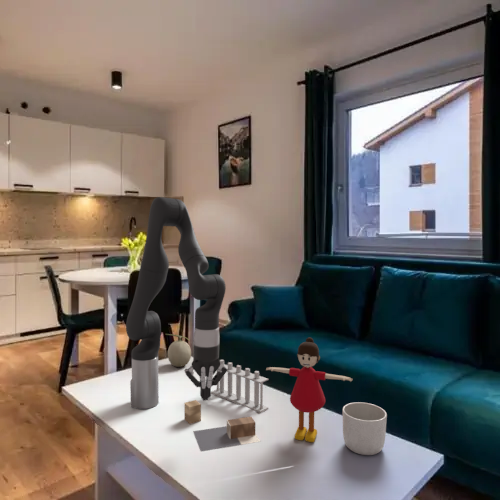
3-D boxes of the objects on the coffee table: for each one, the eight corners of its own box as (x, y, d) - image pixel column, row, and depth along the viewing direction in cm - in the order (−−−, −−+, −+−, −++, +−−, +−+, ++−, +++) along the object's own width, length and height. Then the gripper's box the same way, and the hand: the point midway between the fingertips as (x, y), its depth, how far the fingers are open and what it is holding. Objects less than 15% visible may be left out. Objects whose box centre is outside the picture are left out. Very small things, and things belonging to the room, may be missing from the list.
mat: (200, 452, 120) (200, 451, 119) (193, 432, 131) (193, 431, 131) (260, 442, 125) (260, 441, 125) (248, 424, 136) (248, 422, 136)
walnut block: (230, 426, 126) (255, 422, 128) (226, 420, 130) (251, 416, 132) (230, 438, 126) (255, 435, 129) (226, 432, 130) (251, 428, 133)
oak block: (189, 425, 136) (189, 407, 135) (184, 420, 139) (184, 402, 139) (200, 422, 138) (200, 404, 137) (195, 417, 141) (195, 399, 141)
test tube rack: (268, 409, 148) (268, 372, 147) (260, 413, 144) (260, 376, 143) (219, 390, 164) (219, 356, 164) (211, 393, 161) (210, 359, 160)
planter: (340, 455, 118) (341, 418, 118) (342, 434, 130) (343, 400, 130) (386, 462, 115) (387, 423, 114) (384, 440, 127) (385, 404, 126)
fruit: (197, 365, 192) (197, 332, 191) (177, 371, 184) (177, 338, 183) (182, 360, 199) (182, 328, 198) (162, 366, 191) (162, 333, 190)
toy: (260, 435, 129) (261, 339, 127) (271, 419, 140) (272, 330, 138) (349, 452, 120) (351, 348, 118) (353, 434, 130) (355, 339, 128)
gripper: (186, 347, 118) (185, 407, 120) (231, 344, 122) (230, 402, 124) (182, 339, 125) (181, 396, 127) (225, 337, 129) (223, 391, 131)
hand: (205, 399), depth 125 cm, fingers closed
